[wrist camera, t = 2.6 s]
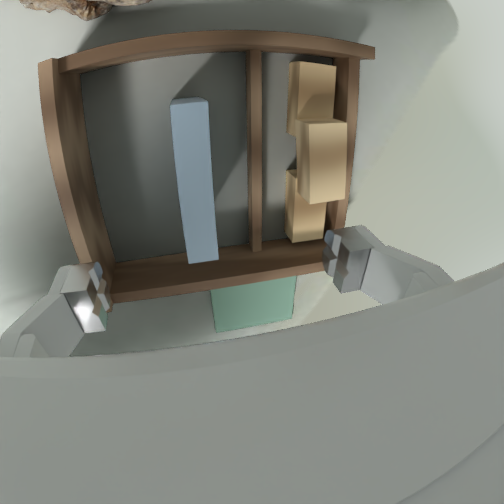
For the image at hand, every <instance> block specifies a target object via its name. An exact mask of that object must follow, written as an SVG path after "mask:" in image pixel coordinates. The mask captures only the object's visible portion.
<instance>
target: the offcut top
mask: <svg viewBox="0 0 504 504" xmlns="http://www.w3.org/2000/svg"><path fill="white" fill-rule="evenodd" d="M295 128H296V154H297V192H298V193H299V194H300V195H301V196H302V197H303V198H304V199H305V200H306V201H307V202H308V203H309V204H316V203H322V202H328V201H335V200H341V199H345V186H346V163H347V123H346V122H343V121H340V120H337V119H333V118H311V119H295Z"/></svg>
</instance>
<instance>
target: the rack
mask: <svg viewBox="0 0 504 504" xmlns="http://www.w3.org/2000/svg"><path fill="white" fill-rule="evenodd" d="M213 52H246V109H247V167H248V220H249V244H242V245H235V246H228V247H221V248H218V256H219V260H212V261H205V262H199V263H192V264H189V263H188V257H187V252H186V253H179V254H173V255H166V256H159V257H152V258H145V259H139V260H132V261H125V262H119V263H116V260H115V257H114V254H113V250H112V247H111V244H110V240H109V237H108V233H107V229H106V226H105V222H104V218H103V214H102V210H101V206H100V202H99V197H98V193H97V188H96V184H95V179H94V174H93V169H92V164H91V158H90V153H89V147H88V140H87V134H86V127H85V119H84V111H83V102H82V92H81V80H80V74H82V73H86V72H89V71H93V70H97V69H101V68H105V67H110V66H114V65H119V64H124V63H129V62H134V61H140V60H146V59H152V58H159V57H167V56H176V55H185V54H197V53H213ZM261 52H275V53H291V54H303V55H312V56H321V57H329V58H333V66H336V81H335V96H334V109H333V119H337V120H340V121H343V122H346V123H347V163H346V186H345V199H341V200H335V201H328V202H327V204H326V214H325V223H324V232H323V238H322V239H315V240H308V241H302V242H295V243H292V242H291V240H290V239H289V238H286V239H278V240H271V241H264V242H262V68H261ZM360 59H375V47H372V46H368V45H363V44H359V43H354V42H349V41H344V40H339V39H334V38H328V37H321V36H314V35H307V34H298V33H288V32H276V31H258V30H213V31H195V32H182V33H173V34H164V35H157V36H150V37H143V38H138V39H132V40H127V41H122V42H117V43H113V44H108V45H104V46H100V47H96V48H92V49H88V50H85V51H81V52H78V53H75V54H71V55H68V56H65V57H62V58H59V59H55V58H51V59H48V60H45V61H43V62H40V63H38V75H39V89H40V99H41V108H42V116H43V124H44V130H45V136H46V142H47V148H48V153H49V158H50V163H51V167H52V172H53V176H54V181H55V185H56V189H57V193H58V196H59V200H60V204H61V207H62V211H63V214H64V218H65V221H66V224H67V227H68V231H69V234H70V237H71V240H72V243H73V246H74V249H75V251H76V254H77V257H78V260H79V262H80V264H82V263H89V262H98V263H100V266H101V268H102V271H103V273H102V277H101V278H102V279H104V280H105V281H106V282H107V284H108V287H109V291H110V301H111V302H110V308H109V309H108V310H107V311H106V313H107V312H112V306H113V304H114V303H121V302H129V301H137V300H144V299H152V298H159V297H166V296H173V295H180V294H187V293H194V292H200V291H207V290H213V289H220V288H226V287H232V286H239V285H245V284H251V283H257V282H263V281H269V280H275V279H280V278H286V277H292V276H297V275H303V274H309V273H314V272H320V271H325V270H324V267H323V263H322V253H323V250H324V248H325V247H326V246H327V244H326V242H325V241H324V238H325V234H326V231H327V230H333V229H339V228H344V226H345V220H346V213H347V206H348V199H349V192H350V184H351V176H352V167H353V158H354V148H355V138H356V125H357V112H358V95H359V69H360Z"/></svg>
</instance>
